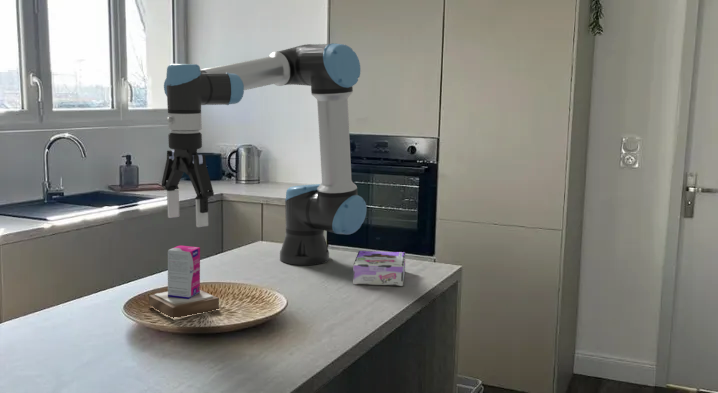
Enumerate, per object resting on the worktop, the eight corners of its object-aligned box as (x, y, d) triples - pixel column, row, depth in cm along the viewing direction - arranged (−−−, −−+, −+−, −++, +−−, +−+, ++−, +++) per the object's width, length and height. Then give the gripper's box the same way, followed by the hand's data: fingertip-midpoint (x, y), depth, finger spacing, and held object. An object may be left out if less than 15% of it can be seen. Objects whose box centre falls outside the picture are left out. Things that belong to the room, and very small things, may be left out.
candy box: (405, 251, 208) (404, 265, 192) (405, 271, 209) (403, 287, 193) (358, 249, 209) (352, 263, 193) (358, 269, 210) (352, 285, 194)
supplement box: (190, 299, 167) (189, 251, 166) (167, 297, 169) (165, 250, 167) (201, 292, 173) (200, 246, 171) (179, 290, 174) (178, 244, 172)
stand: (148, 307, 172) (148, 293, 171) (193, 298, 180) (193, 285, 179) (173, 320, 163) (172, 306, 162) (219, 310, 171) (218, 296, 170)
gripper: (145, 128, 172) (148, 215, 176) (197, 136, 154) (200, 232, 158) (173, 127, 177) (176, 211, 181) (228, 134, 159) (229, 228, 163)
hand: (187, 221), depth 169 cm, fingers open, 13 cm apart
